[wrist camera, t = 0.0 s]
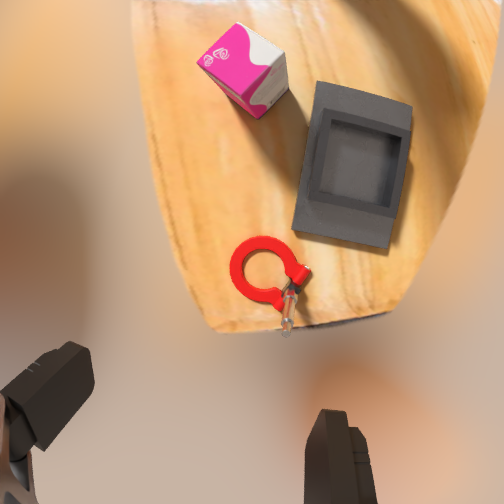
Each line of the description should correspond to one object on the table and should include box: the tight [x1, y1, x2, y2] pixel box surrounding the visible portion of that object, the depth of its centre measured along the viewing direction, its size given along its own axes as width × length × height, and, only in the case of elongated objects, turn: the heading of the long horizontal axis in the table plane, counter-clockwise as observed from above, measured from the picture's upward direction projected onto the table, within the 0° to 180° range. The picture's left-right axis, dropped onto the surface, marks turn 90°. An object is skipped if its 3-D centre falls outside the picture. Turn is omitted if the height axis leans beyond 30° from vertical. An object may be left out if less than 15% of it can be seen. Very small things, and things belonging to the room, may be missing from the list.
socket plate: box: [291, 81, 412, 249], centre depth 31 cm, size 18×12×4 cm, turn 171°
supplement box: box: [197, 22, 289, 119], centre depth 27 cm, size 6×6×12 cm
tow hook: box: [230, 236, 311, 337], centre depth 32 cm, size 8×13×9 cm
